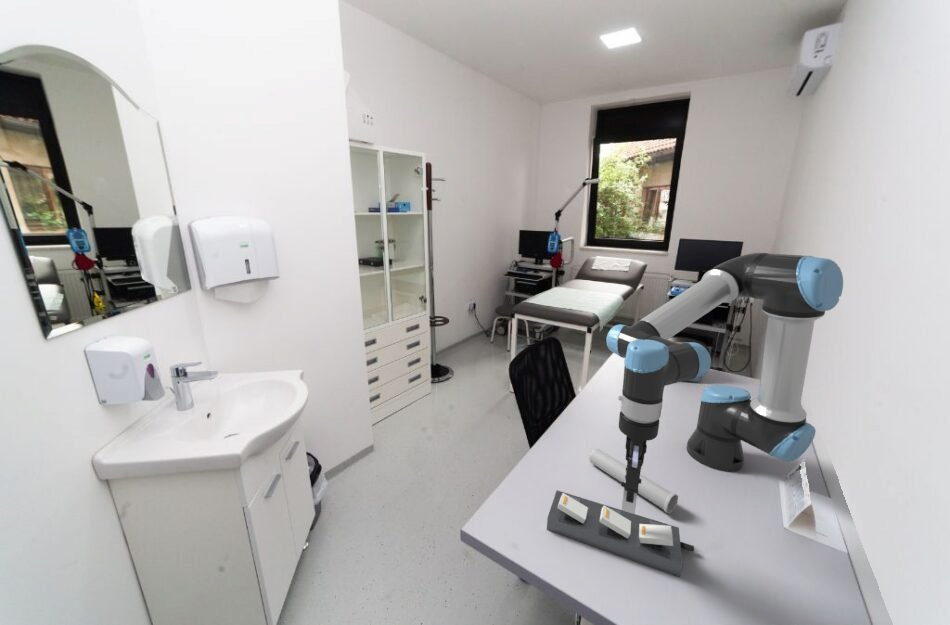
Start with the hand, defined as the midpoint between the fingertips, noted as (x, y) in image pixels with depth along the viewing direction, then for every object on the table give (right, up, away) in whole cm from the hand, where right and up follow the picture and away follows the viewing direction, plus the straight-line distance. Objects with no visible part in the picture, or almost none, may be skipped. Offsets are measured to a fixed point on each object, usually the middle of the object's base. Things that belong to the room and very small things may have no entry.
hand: (628, 509), depth 81 cm
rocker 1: (-11, -3, +6) cm, 13 cm away
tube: (+1, +1, +31) cm, 31 cm away
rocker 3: (+5, -5, -2) cm, 8 cm away
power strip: (-1, -9, +4) cm, 9 cm away
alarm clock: (+63, +14, +94) cm, 114 cm away
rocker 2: (-2, -4, +2) cm, 5 cm away
